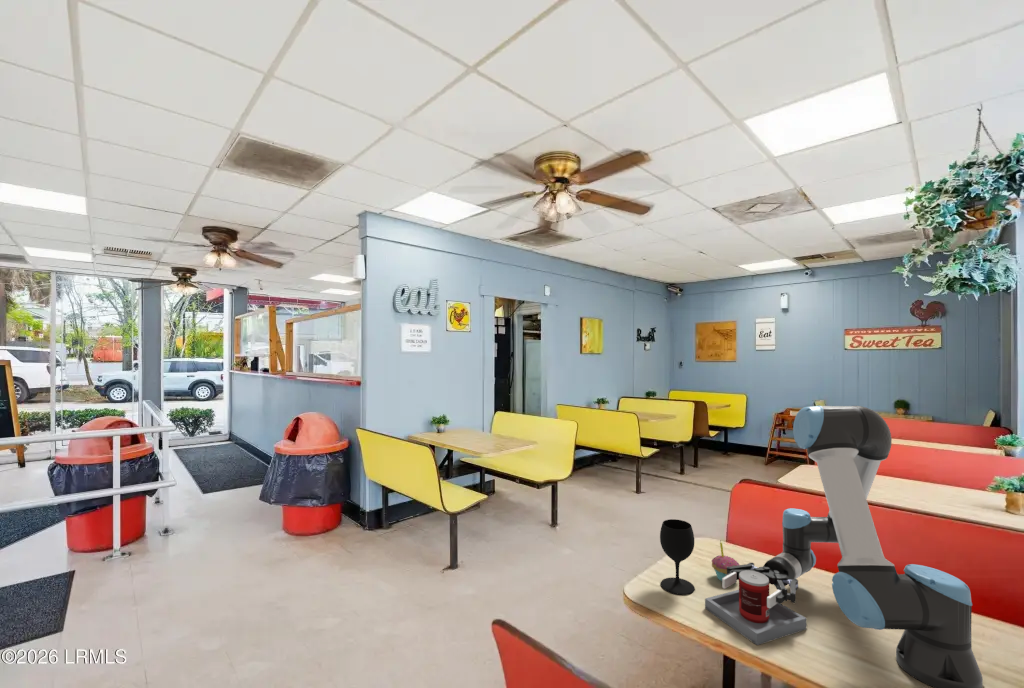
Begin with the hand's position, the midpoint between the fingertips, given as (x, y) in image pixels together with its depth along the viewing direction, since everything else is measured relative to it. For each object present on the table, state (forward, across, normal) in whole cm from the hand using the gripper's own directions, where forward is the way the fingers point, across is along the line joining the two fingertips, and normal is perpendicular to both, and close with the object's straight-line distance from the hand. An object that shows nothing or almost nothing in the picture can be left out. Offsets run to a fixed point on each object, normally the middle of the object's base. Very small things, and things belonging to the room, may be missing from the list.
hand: (745, 592), depth 130 cm
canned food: (-5, 0, -8) cm, 10 cm away
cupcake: (-20, +17, -9) cm, 27 cm away
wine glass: (-3, +23, -9) cm, 25 cm away
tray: (-5, 0, -9) cm, 10 cm away
